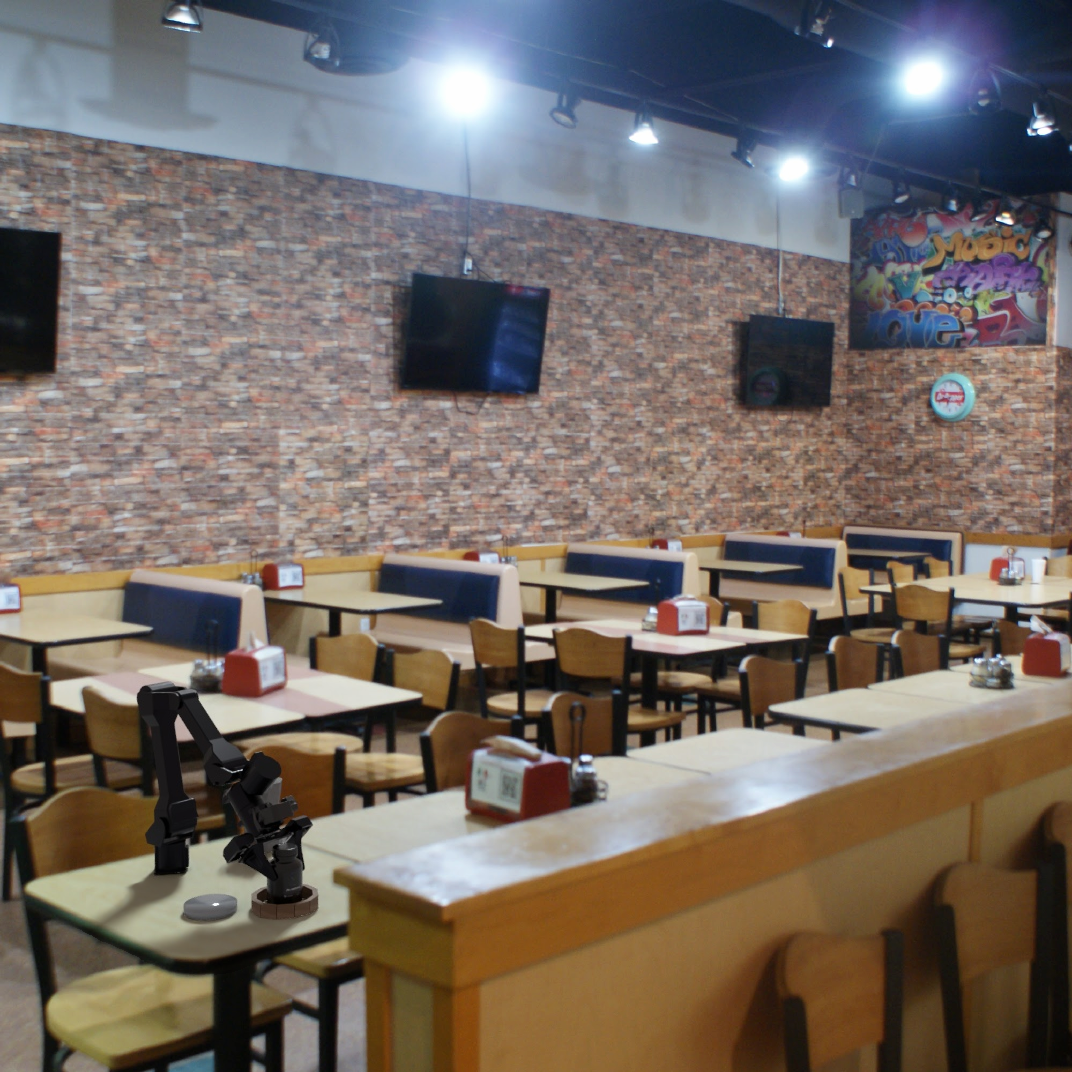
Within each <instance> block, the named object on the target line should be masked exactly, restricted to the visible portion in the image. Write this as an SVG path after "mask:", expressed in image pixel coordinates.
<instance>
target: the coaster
mask: <svg viewBox="0 0 1072 1072" xmlns="http://www.w3.org/2000/svg"><path fill="white" fill-rule="evenodd" d="M182 907H183V916H184V915H185V917H186V918H187V919H190V920H195V921H215V920H220V919H225V918H227V917H230V916H233V914H235V913H236V912H237V911H238V899H237V897H235V896H233V895H230V894H225V893H207V894H202V895H198V896H194V897H191V898H190V899H188V900H186V901H185V902H184V903H183V905H182Z"/></svg>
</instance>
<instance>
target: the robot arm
mask: <svg viewBox="0 0 1072 1072" xmlns="http://www.w3.org/2000/svg"><path fill="white" fill-rule="evenodd" d="M136 703H137V707H138V711H139V714H140V717H141V718H142V719H143V720H144V722H145V723H146V724H147V726H149V729H150V736H151V742H152V743H151V744H152V748H153V749H152V750H153V756H154V758H153V759H154V763H155V770H156V771H155V772H156V779H157V787H158V794H159V797H158V799H157V801H156V804H155V807H154V809H153V818H154V819H153V823H152V824H151V825H150V826H149V828H148V829H147V831H146V832H145V833H144V836H145V841H146V843H147V844H148V845H151V846H153V847H154V852H153V853H154V870H153V875H172V874H182V873H184V874H185V873H187V868H189V867H190V845H189V843H188V844H187V840H189V839H193V838H194V837H195V832H196V829H197V826H198V818H199V816H200V815H199V814H198V810H197V801H196V799H195V798H194V797H193V798H190V796H189V795H188V794H187V793H186V792H185V789H184V788H185V787H184V782H183V781H184V780H183V774H182V768H181V767H182V766H181V760H180V752H179V745H178V738H177V731H176V730H177V729H176V721H177V718H178V716H179V718H180V720H181V721H182V723H183V724H184V726H185V727H186V729H187V731H188V732H189V734H190V736H191V737H192V738H193V741H195V743H196V745H197V747H198V748H199V750H200V751H201V753H202V756H203V762H202V763H203V765H202V766H203V769H204V771H205V774H206V775H207V777H208V779H209V781H210V783H211V784H212V785H214V786H217V787H223V786H226V785H229V784H232V785H231V786H230V788H227V789H224V790H223V795H222V798H221V804H222V805H225V804H226V805H227V804H229V803H230V805H231V806H232V808H233V809H234V812H235V813H236V816H238V818H239V822H238V823H237V826H238V828H239V829H241V828H245V829H246V831H247V833H244V832H243V833H241V834H238V835H235V836H233V837H232V838H231V839H230V841H229V842H227V844H226V845H225V847H224V848H223V851H222V857H223V858H224V860H225V862H226V864H227V865H229V864H232V863H235V862H237V864H239V865H241V864H243V865H245V866H247V867H248V868H250V869H253V870H254V871H256V872H257V873H259V874H261V875H262V876H264V877H265V878H266V879H267V878H268V879H270V880H272V881H275V880H276V879H277V876H276V874H275V872H274V870H273V868H272V866H271V864H270V863H269V861H270V860H269V859H268V857H267V855H266V853H264V844H267V843H270V842H273V841H276V840H280V839H282V841H283V843H293V844H296V845H297V852H298V856H297V858H299V859H300V860H301V862H302V865H303V872H304V871H305V870H306V865H305V859H304V854H303V848H302V847H303V846H302V840H303V837H305V835H306V834H307V833H308V832H309V830H310V829H311V828H312V827H313V825H314V824H313V822H312V820H311V818H310V817H309V816H307V815H300V816H297V817H295V814H294V813H295V812H297V811H298V810H299V806H298V802H297V801H296V799H295V798H294V796H293V795H288V796H285V797H282V798H280V802H279V803H278V804H275V805H272V803H270V802H268V803H265V802H264V800H263V798H262V797H261V795H263V794H265V793H266V792H267V791H268V790H269V788H270V787H271V786H272V785H273V784H274V782H275V781H276V780H277V779H278V777H279V778H280V776H281V774H282V766H281V764H280V763H279V761H277V760H276V759H275V758H273V757H271V756H268V755H266V754H264V752H263V751H262V750H261V751H256V752H253V753H252V755H251V757H250V759H249V758H246V756H245V755H244V754H243V753H242V751H241V750H240V749H239V748H238V746H236V745H234V744H232V743H230V742H228V741H227V740H226V739H225V738H224V736H223V735H222V733H221V732H220V730H219V729H218V727H217V726H216V724H215V723H214V721H213V719H212V718H211V717H210V715H209V713H208V712H207V710H206V709H205V707H204V706H203V704H202V703H201V701H200V698H199V693H198V692H197V690H196V689H194V688H193V689H192V688H187V686H183V685H182V686H180V685H175V684H174V682H172V681H162V682H157V683H152V684H144V685H143V686H141V687H140V689H139V690H138V692H137V693H136ZM293 817H294V818H293ZM288 818H291V819H290V820H288V822H287V823H286V824H285V826H284V827H281V826H283V825H284V823H285V822H286V821H285V819H288ZM279 827H280V828H279Z"/></svg>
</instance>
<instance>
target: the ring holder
mask: <svg viewBox="0 0 1072 1072" xmlns="http://www.w3.org/2000/svg"><path fill="white" fill-rule="evenodd" d="M250 895H251V904H250V905H251V914H253V915H255V916H257V917H259V918H262V919H269V920H270V919H271V920H288V919H290V918H291V919H297V918H300V916H301V915H304V916H307V915H306V914H308V915H310V914H312V913H313V912H314V911H316V910H317V909H319V892H318V888H317V887H315V886H312V885H309V884H308V883H307V884H306V883H303V891H302V899H303V900H302V901H300V902H297V903H293V904H280V905H277V904H269V903H267V885H266V886H263V887H260V888H258V889H257V890H255V891H253V892H252V893H251V894H250ZM304 899H305V900H304ZM311 912H312V913H311ZM309 913H310V914H309ZM301 917H302V916H301Z"/></svg>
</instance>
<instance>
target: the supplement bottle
mask: <svg viewBox="0 0 1072 1072" xmlns="http://www.w3.org/2000/svg"><path fill="white" fill-rule="evenodd" d="M297 856H298V852H297V845H296V844H293V843H280V844H276V845H274V846H273V847H272V852H271V857H272V858H271V859H270V860H268V861H269V863H270V864H271V866H272V868H273V870H274V872H275V874H276V876H277V879H276V880H275V881H272V880H270V879H268V878H267V877H266V886H267V901H266V903H269V904H277V905H280V904H293V903H297V902H300V901H303V898H302V891H303V884H304V883H303V881H304V880H303V879H304V878H303V873H304V871H303V865H302V862H301V860H300V859H299V858H297Z"/></svg>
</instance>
